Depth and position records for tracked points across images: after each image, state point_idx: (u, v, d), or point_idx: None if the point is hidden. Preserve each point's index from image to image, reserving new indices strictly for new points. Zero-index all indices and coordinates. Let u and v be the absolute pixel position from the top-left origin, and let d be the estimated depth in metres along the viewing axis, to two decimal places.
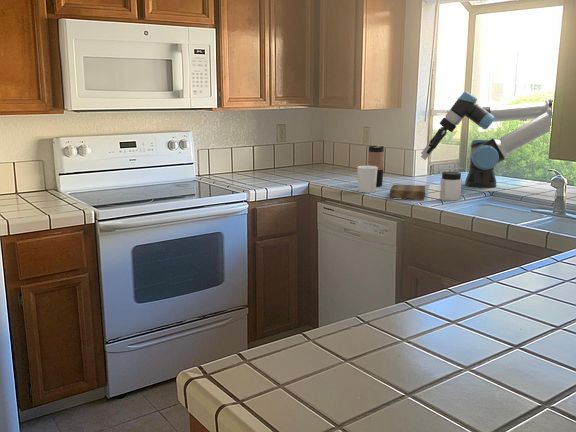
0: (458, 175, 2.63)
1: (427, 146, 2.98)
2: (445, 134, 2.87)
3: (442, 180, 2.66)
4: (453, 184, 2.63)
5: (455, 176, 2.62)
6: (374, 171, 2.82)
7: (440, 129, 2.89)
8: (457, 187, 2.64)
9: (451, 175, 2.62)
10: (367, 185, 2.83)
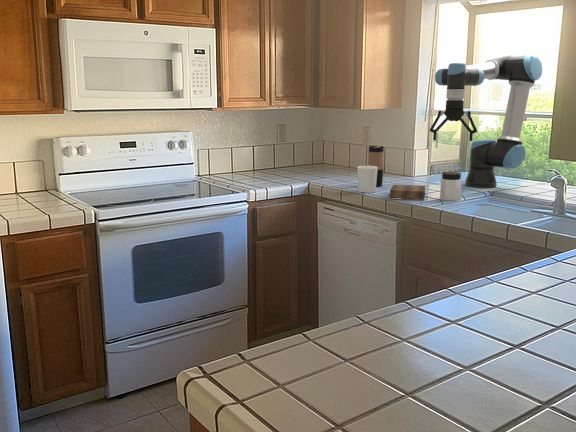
0: (458, 175, 2.63)
1: (437, 137, 2.64)
2: None
3: (442, 180, 2.66)
4: (453, 184, 2.63)
5: (455, 176, 2.62)
6: (374, 171, 2.82)
7: (451, 113, 2.59)
8: (457, 187, 2.64)
9: (451, 175, 2.62)
10: (367, 185, 2.83)
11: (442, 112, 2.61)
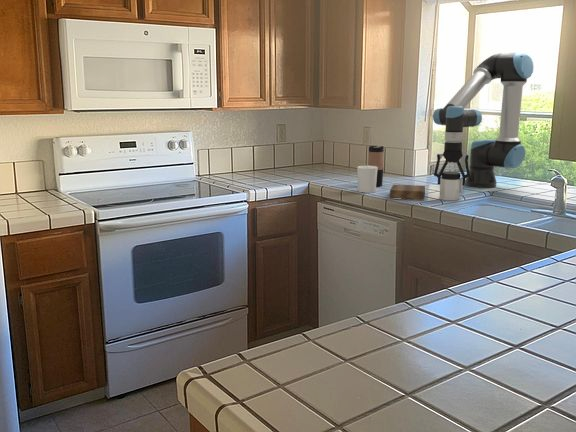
0: (457, 175, 2.63)
1: (441, 182, 2.67)
2: None
3: None
4: (452, 184, 2.63)
5: (454, 176, 2.62)
6: (374, 171, 2.82)
7: (450, 155, 2.63)
8: (456, 187, 2.64)
9: (450, 175, 2.62)
10: (367, 185, 2.83)
11: (441, 155, 2.65)
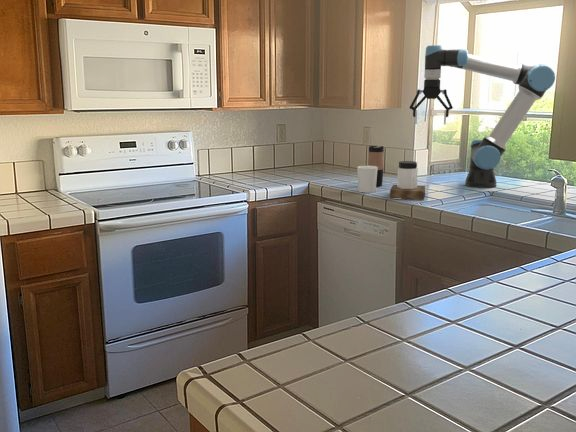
0: (414, 164, 2.69)
1: (416, 114, 2.88)
2: None
3: (399, 169, 2.72)
4: (409, 173, 2.69)
5: (411, 165, 2.68)
6: (374, 171, 2.82)
7: (429, 91, 2.83)
8: (413, 176, 2.70)
9: (407, 164, 2.68)
10: (367, 185, 2.83)
11: (421, 91, 2.85)
